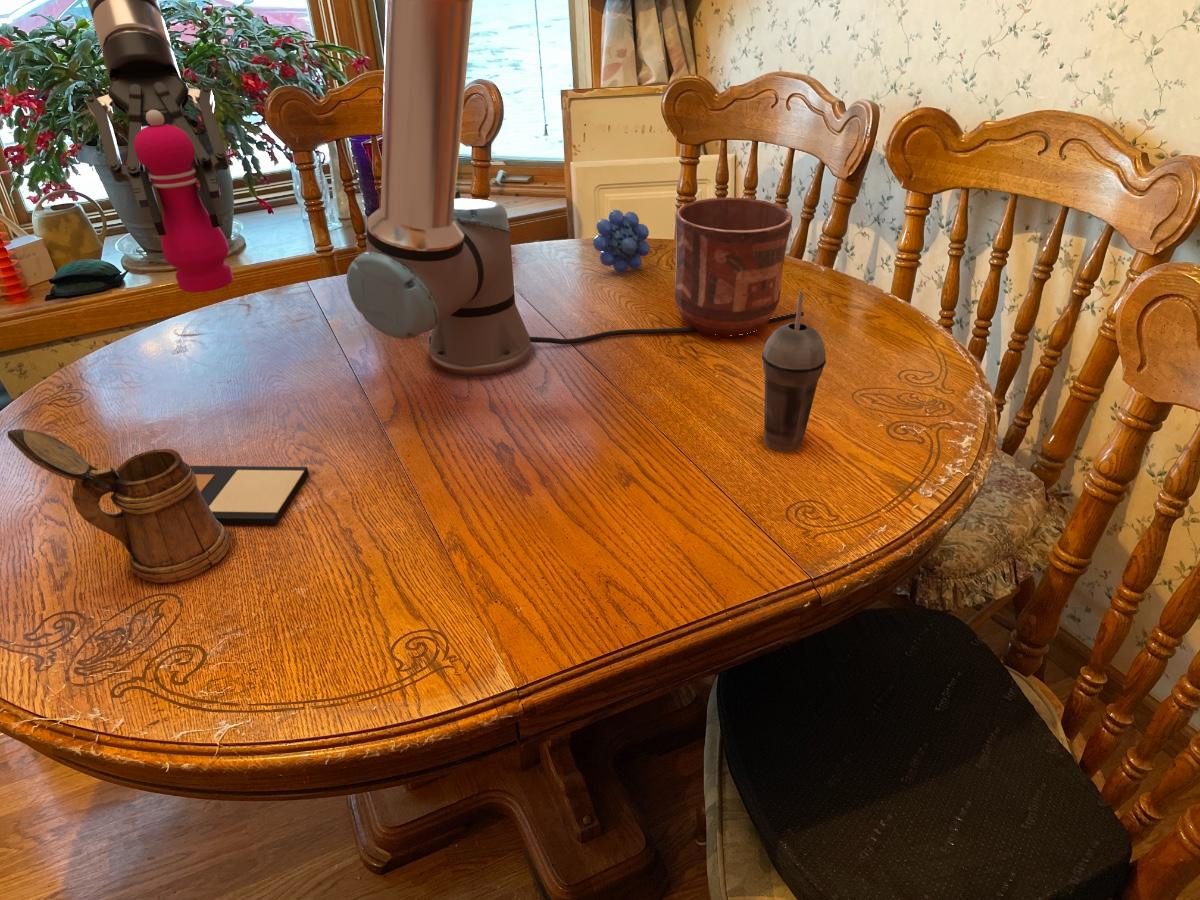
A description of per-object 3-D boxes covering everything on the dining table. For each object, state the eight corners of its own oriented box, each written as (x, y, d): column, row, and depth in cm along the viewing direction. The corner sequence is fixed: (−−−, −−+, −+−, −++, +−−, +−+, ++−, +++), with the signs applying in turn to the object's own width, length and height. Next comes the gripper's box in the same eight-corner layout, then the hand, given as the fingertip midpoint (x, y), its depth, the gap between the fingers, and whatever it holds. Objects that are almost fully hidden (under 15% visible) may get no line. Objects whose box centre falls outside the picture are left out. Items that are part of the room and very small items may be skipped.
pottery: (796, 315, 129) (810, 205, 119) (754, 356, 116) (766, 237, 107) (700, 295, 137) (705, 191, 127) (651, 331, 125) (653, 219, 115)
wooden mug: (82, 561, 80) (6, 410, 70) (222, 517, 86) (169, 371, 76) (86, 614, 73) (3, 455, 64) (237, 562, 79) (182, 409, 69)
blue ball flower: (604, 285, 142) (603, 219, 136) (588, 273, 147) (587, 210, 141) (660, 274, 146) (661, 210, 140) (642, 263, 151) (643, 201, 145)
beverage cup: (816, 431, 98) (839, 279, 87) (809, 462, 92) (833, 304, 81) (758, 422, 100) (774, 273, 89) (748, 452, 94) (764, 296, 84)
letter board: (309, 473, 93) (307, 465, 92) (275, 526, 84) (273, 517, 84) (186, 472, 93) (184, 464, 93) (141, 524, 85) (138, 515, 84)
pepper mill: (214, 296, 93) (158, 116, 82) (162, 292, 94) (100, 115, 83) (249, 274, 99) (201, 104, 88) (199, 272, 100) (146, 103, 89)
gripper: (223, 68, 99) (273, 229, 96) (61, 80, 93) (108, 254, 89) (214, 23, 92) (267, 195, 89) (38, 33, 86) (88, 219, 82)
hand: (187, 224), depth 89 cm, fingers closed on pepper mill, 5 cm apart
